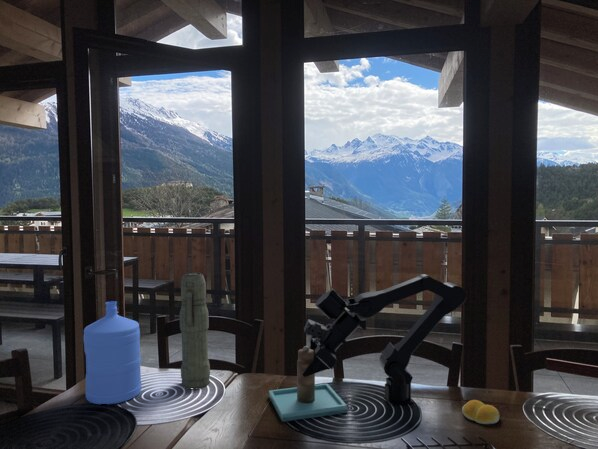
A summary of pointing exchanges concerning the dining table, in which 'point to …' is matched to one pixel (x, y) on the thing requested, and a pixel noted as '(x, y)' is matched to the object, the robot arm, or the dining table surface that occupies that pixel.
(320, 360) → the robot arm
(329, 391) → the teal tray
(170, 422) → the dining table surface
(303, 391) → the pepper mill
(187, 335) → the thermos
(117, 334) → the water jug
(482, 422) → the bread roll
